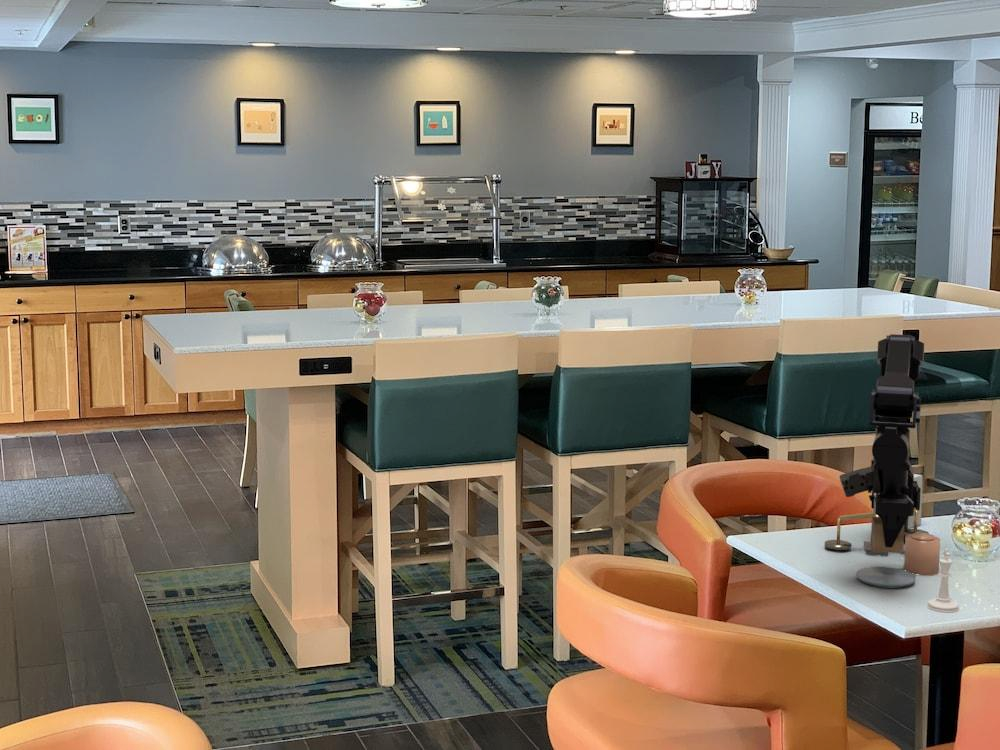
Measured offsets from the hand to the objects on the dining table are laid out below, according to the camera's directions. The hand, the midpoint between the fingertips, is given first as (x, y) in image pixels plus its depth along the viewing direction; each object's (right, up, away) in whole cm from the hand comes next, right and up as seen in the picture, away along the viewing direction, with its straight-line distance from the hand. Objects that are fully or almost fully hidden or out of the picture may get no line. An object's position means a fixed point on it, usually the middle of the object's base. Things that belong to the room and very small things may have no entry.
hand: (887, 542), depth 227 cm
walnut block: (0, -1, 0) cm, 1 cm away
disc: (0, -7, +1) cm, 7 cm away
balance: (+4, -4, +19) cm, 20 cm away
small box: (+14, -1, +40) cm, 42 cm away
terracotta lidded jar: (+8, -6, +7) cm, 13 cm away
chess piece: (+5, -9, -13) cm, 17 cm away
